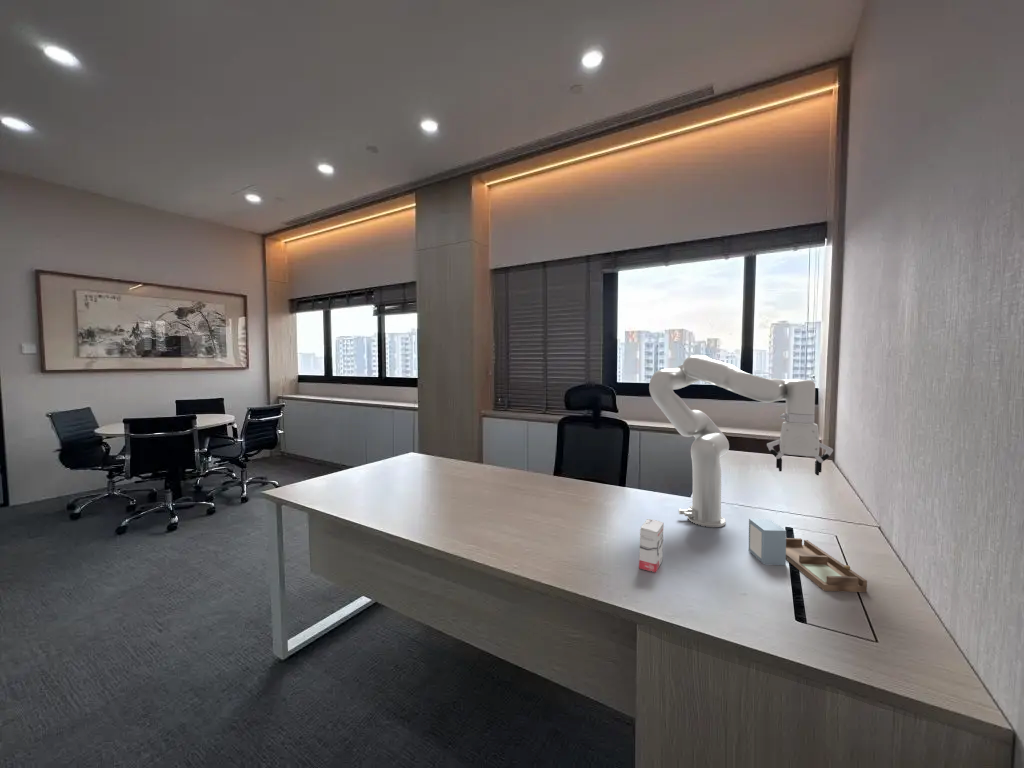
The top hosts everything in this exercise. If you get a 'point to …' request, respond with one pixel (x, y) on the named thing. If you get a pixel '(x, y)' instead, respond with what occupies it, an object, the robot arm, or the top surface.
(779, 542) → the blue-grey rectangular block
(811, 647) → the top surface
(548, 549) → the top surface
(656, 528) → the ink box
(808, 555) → the brown wooden shallow tray
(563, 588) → the top surface
